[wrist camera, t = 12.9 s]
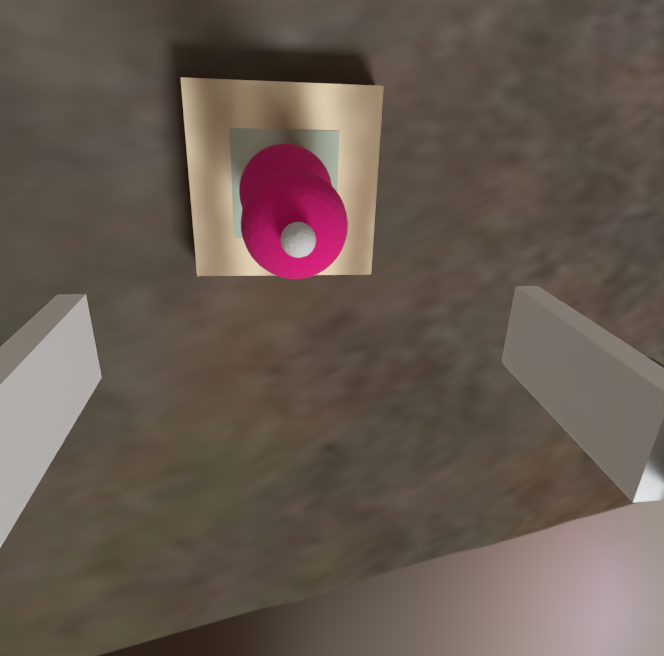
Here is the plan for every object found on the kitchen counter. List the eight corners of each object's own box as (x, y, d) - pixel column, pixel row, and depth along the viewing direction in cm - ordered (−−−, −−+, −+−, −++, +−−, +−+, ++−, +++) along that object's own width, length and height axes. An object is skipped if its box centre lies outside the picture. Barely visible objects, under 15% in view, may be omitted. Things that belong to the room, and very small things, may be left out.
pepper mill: (342, 172, 42) (401, 221, 24) (297, 242, 44) (320, 336, 26) (269, 121, 40) (273, 133, 22) (225, 198, 42) (196, 267, 24)
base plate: (200, 266, 47) (197, 276, 44) (186, 79, 40) (180, 77, 38) (364, 265, 49) (371, 274, 46) (375, 87, 42) (383, 85, 40)
